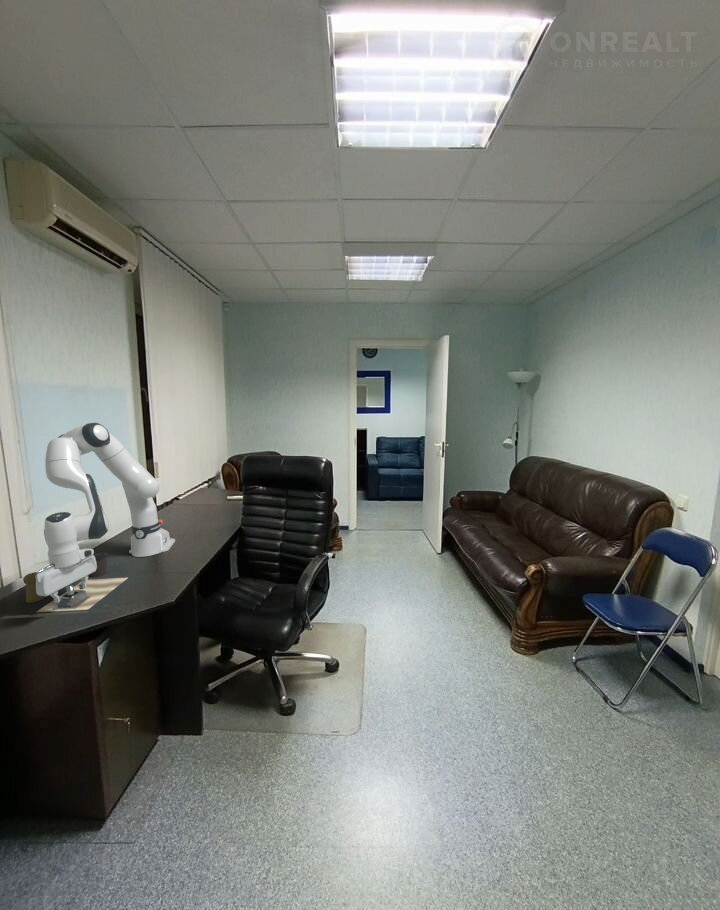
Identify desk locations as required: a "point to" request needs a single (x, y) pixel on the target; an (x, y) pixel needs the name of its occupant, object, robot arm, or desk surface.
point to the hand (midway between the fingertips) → (71, 594)
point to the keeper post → (71, 593)
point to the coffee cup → (100, 564)
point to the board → (93, 589)
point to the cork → (31, 588)
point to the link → (72, 598)
